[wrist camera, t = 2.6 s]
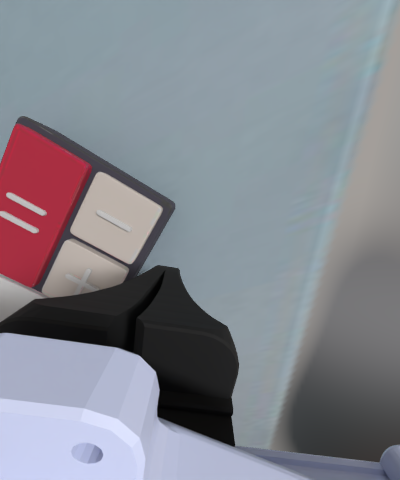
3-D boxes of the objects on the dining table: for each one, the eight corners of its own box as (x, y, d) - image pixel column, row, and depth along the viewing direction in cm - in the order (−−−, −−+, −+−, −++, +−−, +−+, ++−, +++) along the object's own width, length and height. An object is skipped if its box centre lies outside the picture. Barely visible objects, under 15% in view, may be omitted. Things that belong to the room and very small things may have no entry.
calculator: (173, 206, 12) (79, 370, 15) (178, 203, 17) (105, 332, 19) (5, 105, 11) (-65, 307, 14) (58, 131, 15) (-4, 281, 18)
